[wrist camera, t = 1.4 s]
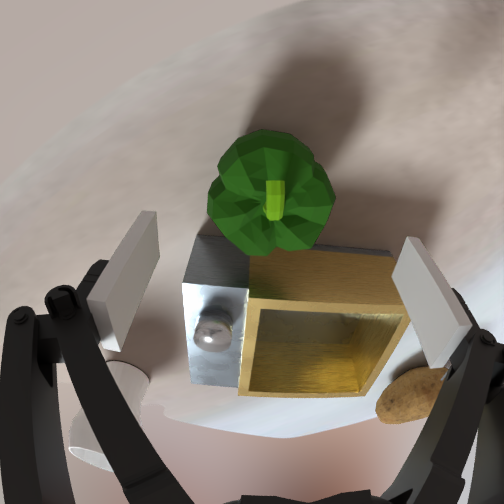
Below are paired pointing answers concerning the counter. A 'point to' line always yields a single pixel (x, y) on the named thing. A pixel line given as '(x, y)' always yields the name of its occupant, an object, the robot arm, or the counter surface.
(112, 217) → the counter surface
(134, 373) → the cup
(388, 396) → the potato
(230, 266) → the gold open box
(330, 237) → the counter surface
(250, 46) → the counter surface
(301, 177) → the bell pepper
